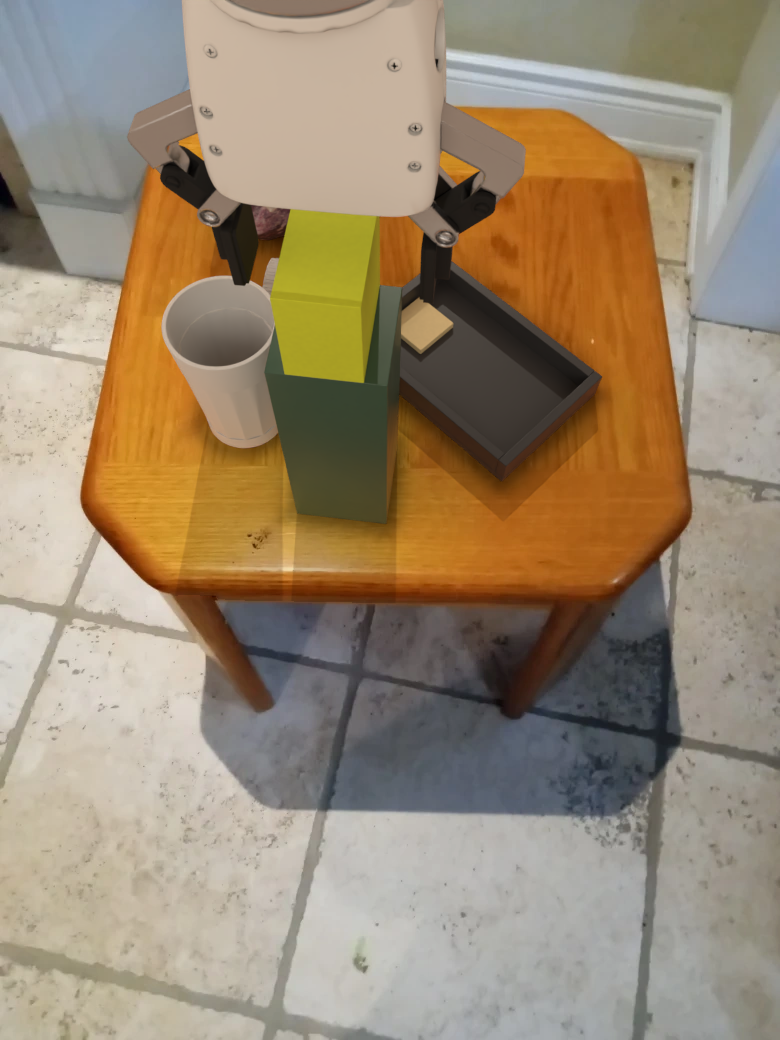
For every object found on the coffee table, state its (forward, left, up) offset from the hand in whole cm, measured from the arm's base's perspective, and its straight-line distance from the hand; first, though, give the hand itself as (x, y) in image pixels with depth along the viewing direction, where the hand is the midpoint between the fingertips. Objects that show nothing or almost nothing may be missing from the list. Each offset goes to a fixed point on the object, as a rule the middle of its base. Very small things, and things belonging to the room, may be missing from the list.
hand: (337, 273), depth 43 cm
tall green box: (0, 0, -24) cm, 24 cm away
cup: (+10, +2, -24) cm, 26 cm away
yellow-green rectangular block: (0, 0, -5) cm, 5 cm away
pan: (0, -14, -24) cm, 28 cm away
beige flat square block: (+6, -14, -23) cm, 28 cm away
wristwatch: (+16, -7, -24) cm, 30 cm away
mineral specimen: (+25, -13, -24) cm, 37 cm away
